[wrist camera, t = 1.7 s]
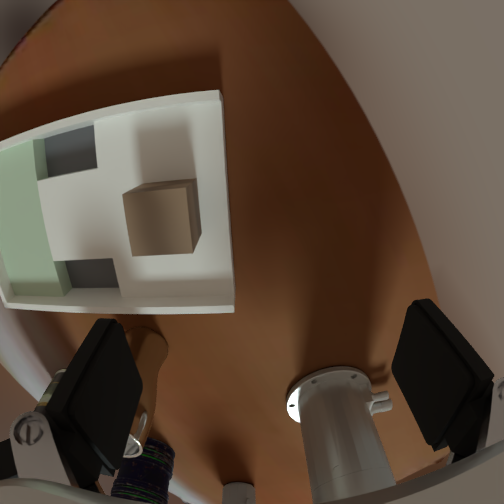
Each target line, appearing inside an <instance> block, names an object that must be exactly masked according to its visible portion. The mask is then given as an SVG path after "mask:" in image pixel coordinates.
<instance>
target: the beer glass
mask: <svg viewBox="0 0 504 504" xmlns="http://www.w3.org/2000/svg"><path fill="white" fill-rule="evenodd" d="M125 336H126V338H127V341H128V344H129V347H130V350H131V353H132V355H133V358H134V361H135V363H136V366H137V369H138V371H139V374H140V376H141V379H142V382H143V391H142V394H141V397H140V400H139V404H138V407H137V410H136V414H135V417H134V420H133V424H132V427H131V431H130V434H129V438H128V441H127V445H126V448H125V452H124V456H123V457H126V458H133V457H137V456H139V455H141V454H142V452H143V448H144V445H145V442H146V440H147V437H148V434H149V431H150V428H151V425H152V422H153V418H154V413H155V407H156V397H157V380H158V373H159V370H160V368H161V366H162V364H163V363H164V361H165V359H166V358H167V355H168V346H167V343H166V341H165V340H164V338H163V337H162V336H161V335H160V334H158V333H157V332H156V331H154V330H152V329H149V328H146V327H133V328H130V329H129V330H127V331H126V333H125Z"/></svg>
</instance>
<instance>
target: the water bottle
mask: <svg viewBox="0 0 504 504" xmlns="http://www.w3.org/2000/svg"><path fill="white" fill-rule="evenodd" d="M222 504H256V502H255V488H254V487H253V486H252V485H251V484H247V483H243V482H234V483H229V484H226V485H225V486H224V488H223V496H222Z"/></svg>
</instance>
